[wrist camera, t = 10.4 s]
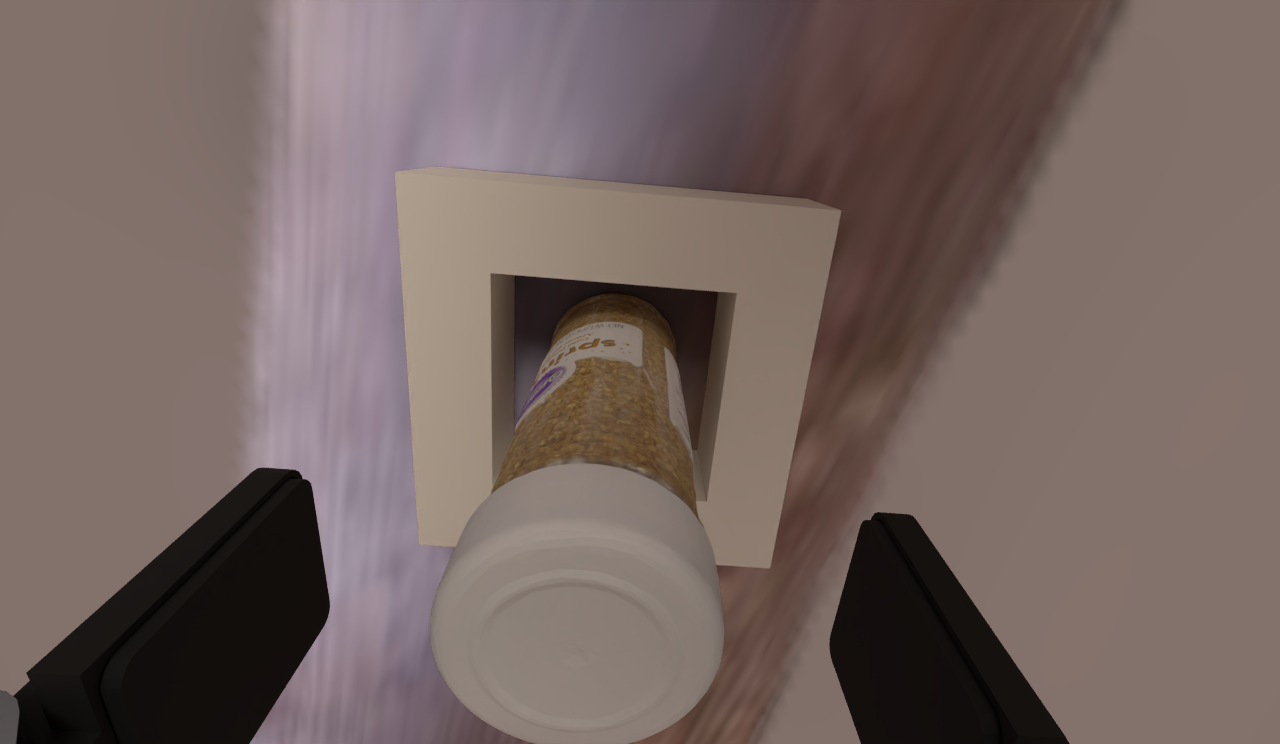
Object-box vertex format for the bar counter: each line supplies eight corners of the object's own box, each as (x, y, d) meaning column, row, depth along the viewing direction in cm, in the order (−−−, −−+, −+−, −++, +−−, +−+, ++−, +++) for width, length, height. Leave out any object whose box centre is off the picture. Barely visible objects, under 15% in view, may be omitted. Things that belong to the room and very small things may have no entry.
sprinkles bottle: (583, 267, 20) (490, 479, 8) (700, 326, 21) (790, 607, 8) (530, 378, 22) (378, 708, 9) (641, 429, 22) (641, 798, 10)
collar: (436, 166, 19) (394, 172, 16) (807, 198, 19) (841, 210, 16) (449, 488, 23) (419, 544, 20) (752, 509, 24) (770, 568, 20)
